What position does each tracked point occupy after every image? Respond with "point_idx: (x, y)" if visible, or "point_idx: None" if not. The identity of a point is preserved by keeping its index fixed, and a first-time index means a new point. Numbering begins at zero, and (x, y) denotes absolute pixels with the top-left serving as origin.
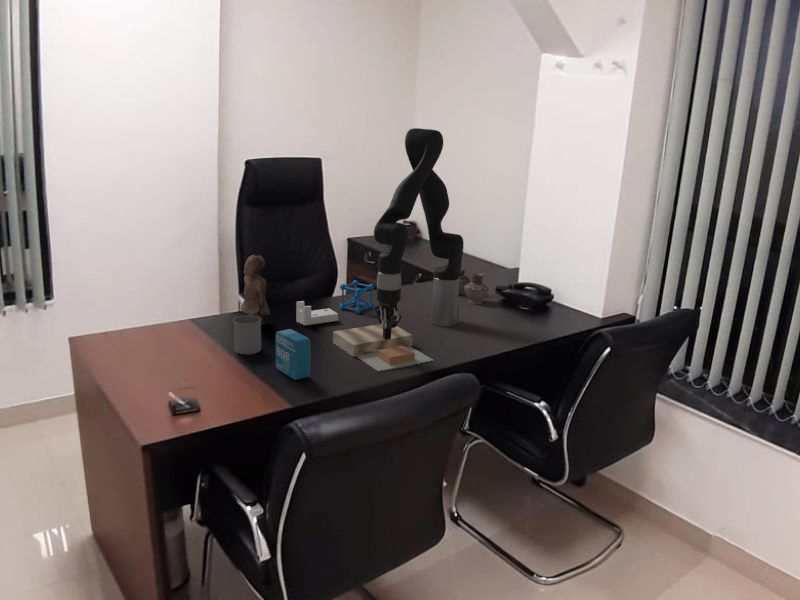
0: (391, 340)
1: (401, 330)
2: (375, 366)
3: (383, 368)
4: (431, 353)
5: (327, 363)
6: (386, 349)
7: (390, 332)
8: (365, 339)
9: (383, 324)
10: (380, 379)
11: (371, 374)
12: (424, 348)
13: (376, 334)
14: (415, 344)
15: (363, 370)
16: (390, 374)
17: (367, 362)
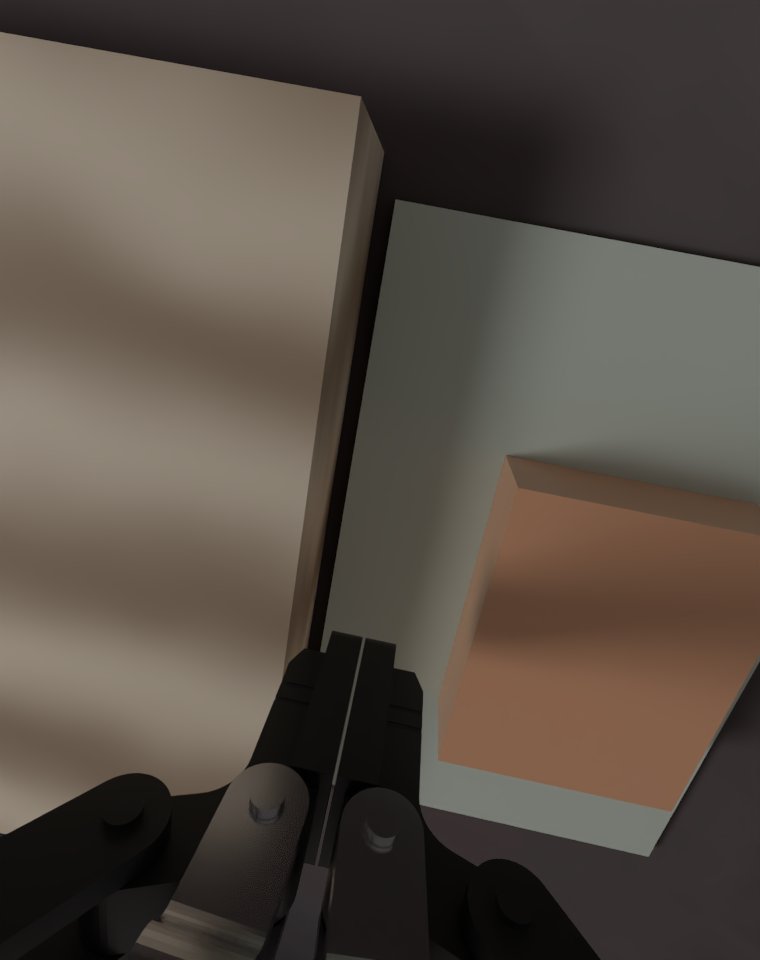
0: (310, 504)
1: (58, 105)
2: (570, 821)
3: (647, 809)
4: (755, 99)
5: (294, 930)
6: (479, 700)
7: (417, 760)
8: (178, 747)
9: (273, 939)
10: (751, 909)
11: (637, 892)
12: (548, 34)
13: (80, 560)
14: (347, 35)
15: (541, 881)
16: (753, 822)
17: (464, 809)
